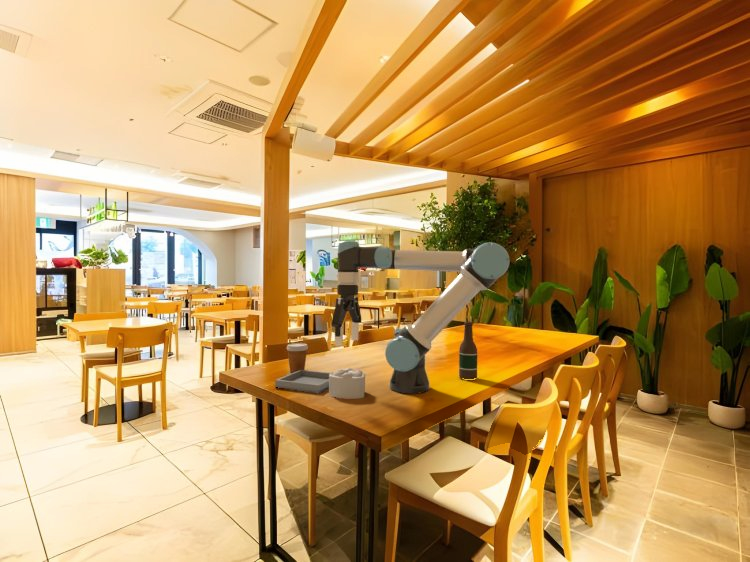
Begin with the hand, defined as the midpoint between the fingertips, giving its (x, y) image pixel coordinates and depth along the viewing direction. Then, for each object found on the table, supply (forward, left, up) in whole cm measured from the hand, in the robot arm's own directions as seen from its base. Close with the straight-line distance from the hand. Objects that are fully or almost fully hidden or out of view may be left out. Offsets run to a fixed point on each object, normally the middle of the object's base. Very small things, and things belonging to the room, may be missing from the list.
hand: (347, 342), depth 139 cm
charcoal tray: (+19, -5, -19) cm, 27 cm away
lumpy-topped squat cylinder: (0, 0, -19) cm, 19 cm away
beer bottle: (-38, -39, -19) cm, 58 cm away
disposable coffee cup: (+35, -22, -19) cm, 45 cm away
